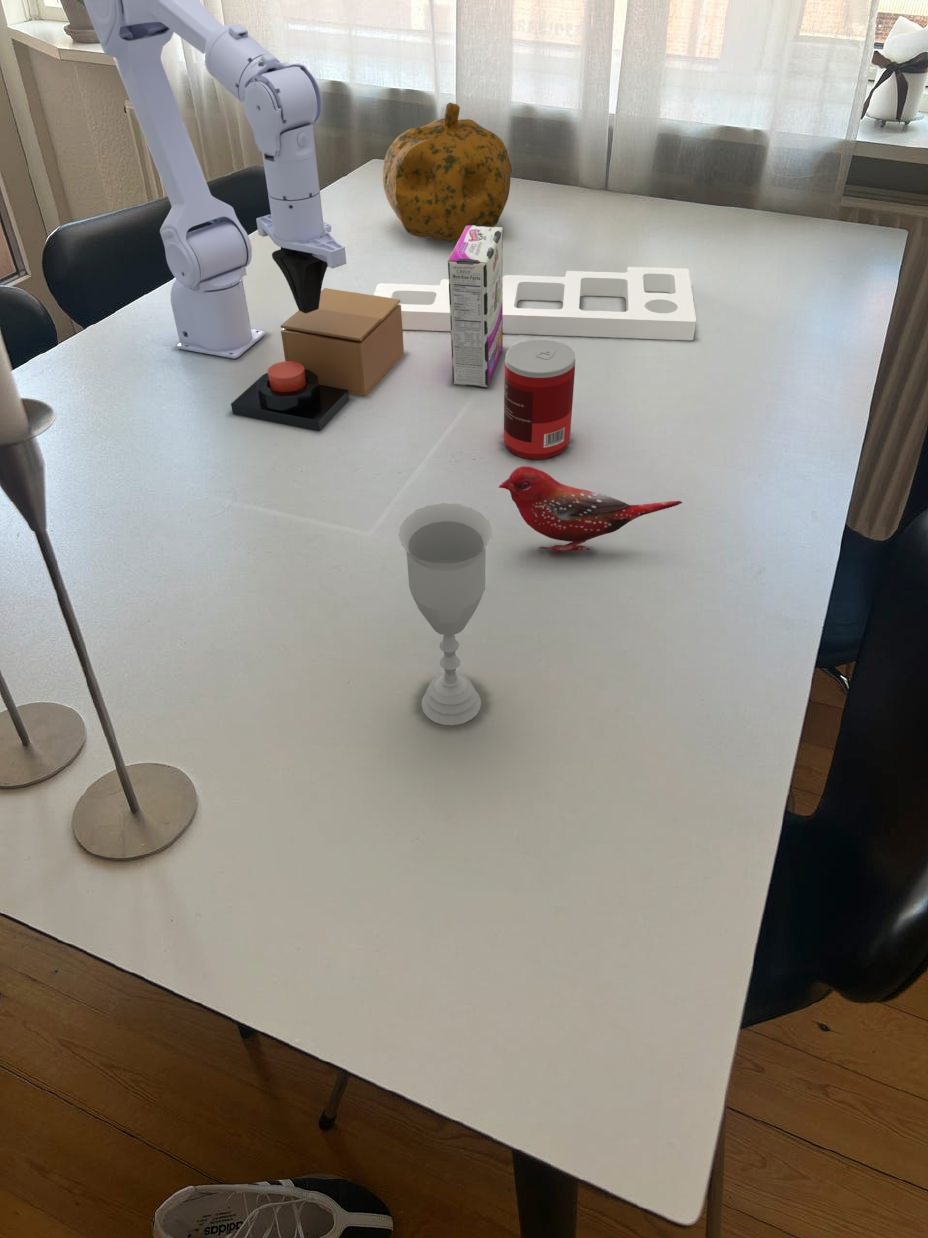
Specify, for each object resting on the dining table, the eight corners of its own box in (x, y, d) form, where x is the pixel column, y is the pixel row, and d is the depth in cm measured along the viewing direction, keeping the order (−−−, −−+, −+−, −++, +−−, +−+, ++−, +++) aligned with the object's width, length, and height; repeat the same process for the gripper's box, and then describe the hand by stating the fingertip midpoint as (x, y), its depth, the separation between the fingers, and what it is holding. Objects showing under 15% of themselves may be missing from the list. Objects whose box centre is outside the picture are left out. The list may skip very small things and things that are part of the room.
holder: (368, 328, 135) (366, 309, 134) (389, 276, 149) (388, 259, 147) (693, 340, 131) (696, 321, 129) (686, 286, 145) (688, 268, 143)
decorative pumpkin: (393, 200, 171) (395, 76, 157) (510, 215, 170) (522, 91, 156) (369, 248, 157) (368, 116, 143) (496, 265, 156) (509, 133, 142)
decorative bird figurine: (497, 542, 98) (498, 458, 92) (672, 543, 98) (686, 459, 91) (497, 560, 96) (498, 475, 90) (676, 561, 96) (690, 476, 89)
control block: (232, 414, 118) (227, 388, 116) (265, 384, 124) (261, 359, 121) (319, 431, 115) (316, 405, 113) (349, 400, 120) (346, 374, 118)
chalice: (409, 675, 84) (396, 505, 72) (486, 669, 85) (487, 500, 73) (413, 738, 79) (400, 566, 67) (495, 732, 79) (497, 560, 67)
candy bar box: (467, 346, 131) (465, 223, 120) (503, 349, 130) (505, 225, 119) (449, 386, 123) (446, 257, 112) (488, 389, 122) (488, 260, 111)
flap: (324, 290, 127) (324, 287, 127) (400, 301, 124) (400, 299, 124) (304, 309, 123) (303, 306, 123) (381, 321, 120) (381, 318, 120)
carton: (330, 342, 132) (324, 287, 127) (404, 354, 129) (400, 299, 124) (288, 382, 124) (279, 325, 119) (365, 396, 121) (360, 338, 116)
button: (263, 390, 116) (260, 374, 115) (281, 373, 119) (278, 358, 118) (295, 396, 115) (293, 380, 114) (312, 379, 118) (310, 363, 117)
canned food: (576, 430, 114) (583, 343, 107) (559, 465, 109) (565, 376, 101) (515, 420, 116) (517, 334, 109) (494, 454, 111) (495, 366, 103)
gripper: (363, 198, 105) (372, 317, 114) (285, 168, 113) (300, 282, 122) (310, 215, 101) (325, 336, 111) (234, 183, 109) (253, 298, 118)
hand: (308, 309), depth 116 cm, fingers closed
